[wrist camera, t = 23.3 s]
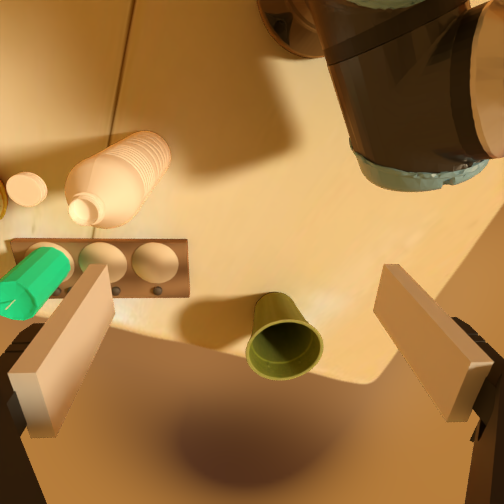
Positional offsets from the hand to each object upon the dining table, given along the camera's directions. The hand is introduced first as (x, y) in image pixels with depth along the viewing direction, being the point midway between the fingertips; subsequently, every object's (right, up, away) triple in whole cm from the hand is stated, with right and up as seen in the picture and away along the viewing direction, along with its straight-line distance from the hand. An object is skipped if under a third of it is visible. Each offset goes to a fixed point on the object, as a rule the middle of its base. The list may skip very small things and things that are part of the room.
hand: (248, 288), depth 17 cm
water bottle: (-16, +16, +32) cm, 39 cm away
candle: (-31, 0, +37) cm, 48 cm away
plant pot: (+4, -8, +45) cm, 46 cm away
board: (-23, -1, +39) cm, 46 cm away
